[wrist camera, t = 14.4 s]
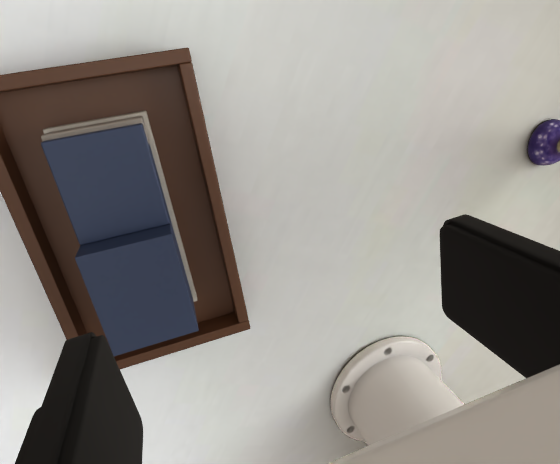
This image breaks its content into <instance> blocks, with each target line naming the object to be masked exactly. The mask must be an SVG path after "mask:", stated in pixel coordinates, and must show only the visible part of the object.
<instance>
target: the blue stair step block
mask: <svg viewBox="0 0 560 464" xmlns="http://www.w3.org/2000/svg"><path fill="white" fill-rule="evenodd" d="M43 132H44V135H42V136H41V139H42V141H43V142H41V146H42V149H43V151H44V154H45V156H46V159H47V162H48V164H49V167H50V169H51V172H52V174H53V177H54V180H55V182H56V185H57V187H58V190H59V193H60V195H61V198H62V200H63V203H64V206H65V208H66V211H67V213H68V216H69V219H70V221H71V224H72V226H73V229H74V232H75V234H76V237H77V239H78V242H79V244H80V247H79V250H78V252H77V254H76V256H75V260H76V263H77V265H78V268H79V270H80V273H81V275H82V278H83V280H84V283H85V285H86V288H87V290H88V293H89V296H90V298H91V301H92V303H93V306H94V308H95V311H96V313H97V316H98V318H99V321H100V323H101V326H102V328H103V331H104V333H105V336H106V338H107V341H108V343H109V346H110V348H111V351H112V353H113V356H117V355H121V354H124V353H127V352H130V351H134V350H137V349H140V348H144V347H147V346H150V345H153V344H157V343H160V342H163V341H167V340H170V339H173V338H176V337H180V336H183V335H186V334H190V333H193V332H196V331H199V329H198V323H197V318H196V313H195V307H194V301H197V295H196V291H195V287H194V284H193V280H192V276H191V273H190V269H189V265H188V262H187V258H186V254H185V251H184V247H183V243H182V240H181V236H180V232H179V229H178V225H177V221H176V218H175V214H174V210H173V207H172V203H171V200H170V196H169V192H168V189H167V185H166V181H165V178H164V174H163V170H162V167H161V163H160V159H159V156H158V152H157V148H156V145H155V141H154V137H153V134H152V130H151V126H150V123H149V119H148V115H147V112H146V111H140V112H134V113H128V114H123V115H117V116H111V117H106V118H100V119H94V120H89V121H83V122H77V123H72V124H66V125H60V126H55V127H49V128H46V129H43Z"/></svg>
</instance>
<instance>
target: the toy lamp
mask: <svg viewBox="0 0 560 464" xmlns="http://www.w3.org/2000/svg"><path fill="white" fill-rule="evenodd" d="M528 155H529V158H530V160H531V161H532V162H533V163H534V164H537V165H550V164H554V163H556V162H558V161H560V120H556V119H551V120H547V121H545V122H543V123H542V124H540V125H539V126H538V127H537V128H536V129H535V131H534V132H533V133H532V135H531V138H530V140H529V143H528Z"/></svg>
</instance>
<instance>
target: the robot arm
mask: <svg viewBox="0 0 560 464" xmlns="http://www.w3.org/2000/svg"><path fill="white" fill-rule="evenodd" d="M440 257H441V287H442V308H443V311H444V313H445V314H446V316H447V317H448V318H449V319H451V320H452V321H453V322H454V323H456V324H457V325H458V326H460V327H461V328H462V329H463V330H465V331H466V332H467V333H469V334H470V335H471V336H473V337H474V338H475V339H476V340H478V341H479V342H480V343H482V344H483V345H484V346H485V347H487V348H488V349H489V350H491V351H492V352H493V353H494V354H496V355H497V356H498V357H500V358H501V359H502V360H504V361H505V362H506V363H507V364H509V365H510V366H511V367H513V368H514V369H515V370H516V371H518V372H519V373H520V374H522V375H523V376H524V377H526V379H524V380H522V381H519V382H517V383H514V384H512V385H510V386H507V387H505V388H502V389H500V390H498V391H495V392H493V393H491V394H488V395H486V396H484V397H481V398H479V399H477V400H474V401H472V402H470V403H467V404H464V403H463V402H462V401H461V400H460V399H459V398H458V397H457V396H456V395H455V394H454V393H453V392H452V391H451V390H450V389H449V388H448V387H447V386H446V385H445V384H444V383H443V382H442V380H441V378H442V368H441V363H440V360H439V358H438V356H437V355H436V353H435V352H434V351H433V350H432V349H431V348H430V347H429V346H428V345H427V344H426V343H424V342H422V341H421V340H419V339H416V338H413V337H405V336H399V337H391V338H387V339H384V340H381V341H378V342H376V343H374V344H372V345H370V346H368V347H367V348H365V349H364V350H362V351H361V352H359V353H358V354H357V355H356V356H355V357H354V358H353V359H351V360H350V361H349V363H348V364H347V365H346V366H345V367H344V369H343V370H342V371H341V373H340V375H339V376H338V378H337V380H336V382H335V385H334V387H333V390H332V394H331V412H332V415H333V418H334V420H335V422H336V424H337V426H338V427H339V428H340V430H341V431H342V432H343V433H344V434H345V435H347V436H348V437H350V438H352V439H355V440H358V441H365V442H366V444H367V447H365V448H362V449H360V450H358V451H355V452H353V453H351V454H348V455H346V456H344V457H342V458H339V459H337V460H335V461H332V462H330V463H328V464H560V251H558V250H556V249H553V248H550V247H548V246H545V245H543V244H540V243H538V242H535V241H533V240H530V239H528V238H525V237H523V236H520V235H518V234H515V233H512V232H510V231H507V230H505V229H502V228H500V227H497V226H495V225H492V224H490V223H487V222H485V221H482V220H479V219H477V218H474V217H472V216H469V215H462V216H458V217H455V218H452V219H449V220H446V221H445V222H444V225H443V227H442V228H441V229H440ZM142 447H143V425H142V421H141V417H140V415H139V412H138V410H137V408H136V405H135V403H134V401H133V399H132V396H131V394H130V392H129V390H128V387H127V385H126V383H125V381H124V378H123V376H122V374H121V372H120V369H119V367H118V365H117V363H116V360H115V358H114V356H113V353H112V351H111V349H110V347H109V344H108V342H107V340H106V338H105V337H104V336H103V335H100V336H96V335H95V334H94V333H93V332H90V333H87V334H84V335H81V336H77V337H74V338H71V339H68V340H66V342H65V344H64V347H63V349H62V352H61V355H60V358H59V360H58V363H57V366H56V368H55V371H54V374H53V377H52V379H51V382H50V385H49V388H48V390H47V393H46V396H45V399H44V401H43V404H42V407H40V408H39V409H37V410H36V412H35V413H34V415H33V417H32V420H31V423H30V425H29V428H28V430H27V433H26V436H25V438H24V441H23V444H22V446H21V449H20V451H19V454H18V457H17V459H16V462H15V464H142Z"/></svg>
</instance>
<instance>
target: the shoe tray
mask: <svg viewBox="0 0 560 464" xmlns="http://www.w3.org/2000/svg"><path fill="white" fill-rule="evenodd" d="M140 111H146V112H147V115H148V119H149V123H150V126H151V130H152V134H153V137H154V141H155V145H156V148H157V152H158V156H159V159H160V163H161V167H162V170H163V174H164V178H165V181H166V185H167V189H168V192H169V196H170V200H171V203H172V207H173V210H174V214H175V218H176V221H177V225H178V229H179V232H180V236H181V240H182V243H183V247H184V251H185V254H186V258H187V262H188V265H189V269H190V273H191V276H192V280H193V284H194V287H195V291H196V295H197V301H194V307H195V313H196V318H197V323H198V329H199V331H196V332H193V333H190V334H186V335H183V336H180V337H176V338H173V339H170V340H167V341H163V342H160V343H157V344H153V345H150V346H147V347H144V348H140V349H137V350H134V351H130V352H127V353H124V354H121V355H117V356H114V358H115V360H116V363H117V365H118V367H119V369H123V368H126V367H129V366H132V365H135V364H139V363H142V362H145V361H148V360H151V359H155V358H158V357H161V356H164V355H167V354H171V353H174V352H177V351H180V350H183V349H187V348H190V347H193V346H196V345H200V344H203V343H206V342H209V341H212V340H216V339H219V338H222V337H225V336H228V335H232V334H235V333H238V332H241V331H244V330H248V329H250V324H249V320H248V315H247V311H246V306H245V302H244V297H243V293H242V288H241V284H240V279H239V274H238V270H237V265H236V261H235V256H234V252H233V247H232V243H231V238H230V234H229V229H228V224H227V220H226V215H225V211H224V206H223V202H222V197H221V193H220V188H219V183H218V179H217V174H216V170H215V165H214V161H213V156H212V152H211V147H210V143H209V138H208V133H207V129H206V124H205V120H204V115H203V111H202V106H201V102H200V97H199V93H198V88H197V83H196V79H195V74H194V70H193V65H192V63H191V56H190V51H189V48H182V49H175V50H168V51H162V52H155V53H148V54H141V55H134V56H127V57H121V58H114V59H107V60H100V61H93V62H86V63H80V64H73V65H66V66H59V67H52V68H45V69H39V70H32V71H25V72H18V73H11V74H4V75H0V191H1V193H2V196H3V198H4V200H5V202H6V205H7V207H8V209H9V211H10V213H11V216H12V218H13V220H14V222H15V225H16V227H17V229H18V231H19V234H20V236H21V238H22V240H23V243H24V245H25V247H26V249H27V252H28V254H29V256H30V258H31V261H32V263H33V265H34V267H35V270H36V272H37V274H38V276H39V279H40V281H41V283H42V285H43V287H44V290H45V292H46V294H47V296H48V299H49V301H50V303H51V305H52V308H53V310H54V312H55V314H56V317H57V319H58V321H59V323H60V326H61V328H62V330H63V332H64V335H65V337H66V339H67V340H68V339H71V338H74V337H77V336H81V335H84V334H87V333H90V332H93V333H94V334H95V335H96V336H100V335H103V336H104V337H105V338H106V336H105V333H104V331H103V328H102V326H101V323H100V321H99V318H98V316H97V313H96V311H95V308H94V306H93V303H92V301H91V298H90V296H89V293H88V290H87V288H86V285H85V283H84V280H83V278H82V275H81V273H80V270H79V268H78V265H77V263H76V260H75V256H76V254H77V252H78V250H79V247H80V244H79V242H78V239H77V237H76V234H75V232H74V229H73V226H72V224H71V221H70V219H69V216H68V213H67V211H66V208H65V206H64V203H63V200H62V198H61V195H60V193H59V190H58V187H57V185H56V182H55V180H54V177H53V174H52V172H51V169H50V167H49V164H48V162H47V159H46V156H45V154H44V151H43V149H42V146H41V142H43V141H42V139H41V136H42V135H44V132H43V129H46V128H49V127H55V126H60V125H66V124H72V123H77V122H83V121H89V120H94V119H100V118H106V117H111V116H117V115H123V114H128V113H134V112H140ZM106 340H107V338H106ZM107 342H108V341H107ZM108 344H109V343H108ZM109 347H110V346H109ZM110 349H111V348H110Z"/></svg>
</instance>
